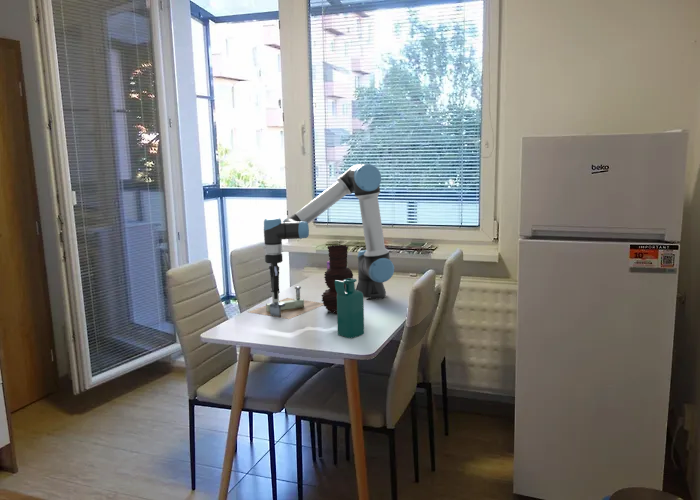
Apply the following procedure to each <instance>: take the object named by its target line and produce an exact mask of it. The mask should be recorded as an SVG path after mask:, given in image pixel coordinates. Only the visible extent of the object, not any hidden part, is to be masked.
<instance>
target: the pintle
mask: <svg viewBox="0 0 700 500" xmlns="http://www.w3.org/2000/svg"><path fill="white" fill-rule="evenodd" d="M294 289H295V299H296V300H300V299H301V289H302V286H300V285H299V286H298V285H297V286H294Z"/></svg>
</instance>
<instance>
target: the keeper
mask: <svg viewBox="0 0 700 500" xmlns="http://www.w3.org/2000/svg"><path fill="white" fill-rule="evenodd" d="M271 303H272V302H271ZM284 306H285V303H279V302H274V303H272V304H270V315H271V316H270V317H273V316H277V317H276V318H279V317H281V307H284Z"/></svg>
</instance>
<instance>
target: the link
mask: <svg viewBox="0 0 700 500" xmlns="http://www.w3.org/2000/svg"><path fill="white" fill-rule="evenodd" d="M293 299H294V300H289V301H282V302H279V303H285V306H284V307H281V310H285V309H292V308H302V307H304V300H305V299H303V298H300V300H296V298H293ZM270 304H272V302H269V303H268V302H267V303H266V304H265V306H266V310H267V311H268V312H270Z"/></svg>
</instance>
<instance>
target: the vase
mask: <svg viewBox="0 0 700 500" xmlns="http://www.w3.org/2000/svg"><path fill="white" fill-rule="evenodd" d="M348 249H349V245H346V244H345V245H344V244H338V245H337V244H335V245H333V244H332V245H329V246H327V251H328V261H329V262H330V263H329V265H330V268H329V269H327V268H326V271H325V272H324V277H323V279H324V283H325V284H326V287H327V289H326V290H324V292H322V294H321V302H322V303H323V304H324V305H323V307H325V309H326V310H327V312H329V314H330V313H331V314H334V315H337V292H336V289H335V280H340V281H343V280H344V279H347V278H353V279H354V274H353V272H352V270H351V269H350V268H349V267H348V268H347V263H348ZM344 290H345V284H344Z"/></svg>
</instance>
